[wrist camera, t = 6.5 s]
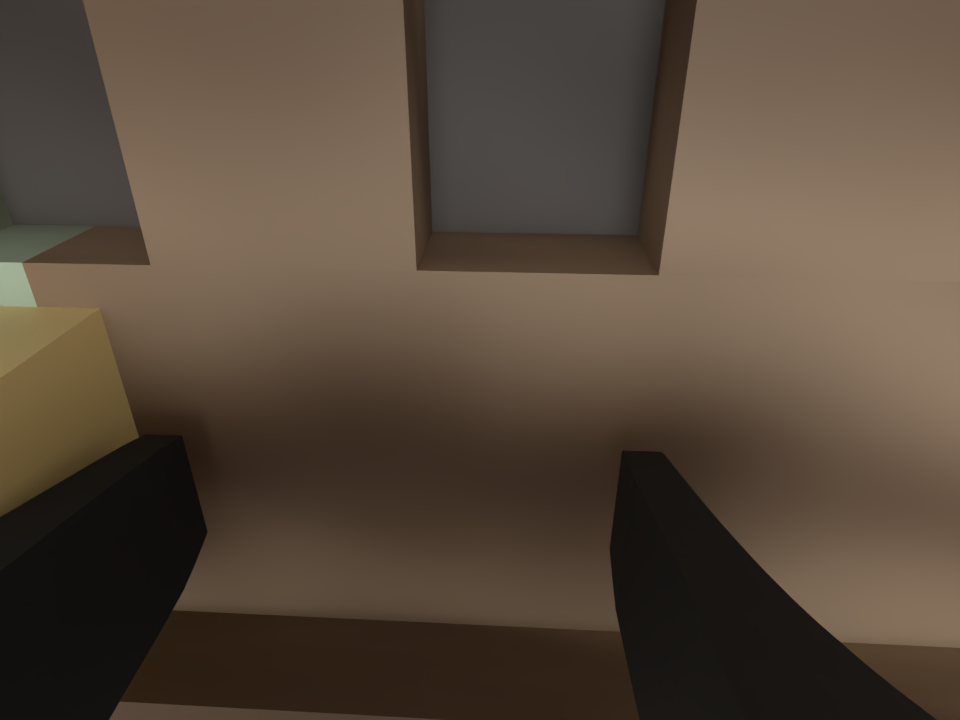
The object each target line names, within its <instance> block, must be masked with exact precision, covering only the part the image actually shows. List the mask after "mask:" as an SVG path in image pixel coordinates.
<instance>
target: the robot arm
mask: <svg viewBox="0 0 960 720" xmlns="http://www.w3.org/2000/svg"><path fill="white" fill-rule="evenodd" d="M207 533H208V531H207V527H206V524H205V520H204V516H203V512H202V509H201V505H200V501H199V497H198V493H197V490H196V486H195V482H194V478H193V475H192V471H191V467H190V463H189V460H188V456H187V452H186V448H185V445H184V441H183V437H182V436H181V435H151V434H145V435H143V436H141V437H139V438H137V439H135V440H133V441H131V442H129V443H127V444H125V445H123V446H121V447H120V448H118V449H116V450H114V451H112V452H111V453H109V454H107V455H105V456H104V457H102V458H100V459H98V460H97V461H95V462H93V463H92V464H90V465H88V466H86V467H85V468H83V469H81V470H80V471H78V472H76V473H75V474H73V475H71V476H70V477H68V478H66V479H64V480H63V481H61V482H59V483H58V484H56V485H54V486H52V487H51V488H49V489H47V490H46V491H44V492H42V493H40V494H39V495H37V496H35V497H34V498H32V499H30V500H29V501H27V502H25V503H23V504H22V505H20V506H18V507H17V508H15V509H13V510H11V511H10V512H8V513H6V514H4V515H2V516H1V517H0V720H109V719H110V717H111V716H112V714H113V712H114V710H115V709H116V707H117V705H118V704H119V702H120V700H121V698H122V697H123V695H124V693H125V692H126V690H127V688H128V686H129V685H130V683H131V681H132V680H133V678H134V676H135V674H136V673H137V671H138V669H139V668H140V666H141V664H142V662H143V661H144V659H145V657H146V656H147V654H148V652H149V650H150V649H151V647H152V645H153V644H154V642H155V640H156V638H157V637H158V635H159V633H160V631H161V630H162V628H163V626H164V624H165V623H166V621H167V619H168V617H169V616H170V614H171V612H172V610H173V609H174V607H175V605H176V603H177V601H178V600H179V598H180V596H181V594H182V592H183V591H184V589H185V586H186V584H187V582H188V579H189V577H190V575H191V572H192V570H193V568H194V566H195V563H196V561H197V558H198V556H199V553H200V550H201V548H202V545H203V543H204V540H205V538H206V535H207ZM610 559H611V570H612V581H613V590H614V600H615V609H616V614H617V619H618V623H619V628H620V633H621V637H622V642H623V647H624V651H625V656H626V661H627V665H628V670H629V674H630V679H631V683H632V688H633V692H634V697H635V701H636V706H637V710H638V715H639V719H640V720H937V719H935V718H934V717H933V716H931V715H930V714H929V713H927V712H926V711H925V710H923V709H922V708H921V707H920V706H918V705H917V704H916V703H914V702H913V701H912V700H910V699H909V698H908V697H906V696H905V695H904V694H903V693H901V692H900V691H899V690H897V689H896V688H895V687H893V686H892V685H891V684H890V683H889V682H887V681H886V680H885V679H884V678H882V677H881V676H880V675H879V674H877V673H876V672H875V671H874V670H873V669H871V668H870V667H869V666H868V665H866V664H865V663H864V662H863V661H862V660H860V659H859V658H858V657H857V656H856V655H855V654H854V653H852V652H851V651H850V650H849V649H848V648H847V647H846V646H844V645H843V644H842V643H841V642H840V641H839V640H837V639H836V638H835V637H834V636H833V635H832V634H831V633H829V632H828V631H827V630H826V629H825V628H824V627H823V626H821V625H820V624H819V623H818V622H817V621H816V620H815V619H814V618H813V617H811V616H810V615H809V614H808V613H807V612H806V611H805V610H804V609H803V608H802V607H801V606H800V605H799V604H798V603H796V602H795V601H794V600H793V599H792V598H791V597H790V596H789V595H788V594H787V593H786V592H785V591H784V590H783V589H782V588H781V587H780V586H779V585H778V584H777V583H776V582H775V581H774V580H773V579H772V578H771V577H770V576H769V575H768V574H767V573H766V571H765V570H764V569H763V568H762V567H761V566H760V565H759V564H758V563H757V562H756V561H755V560H754V559H753V558H752V557H751V556H750V554H749V553H748V552H747V551H746V550H745V549H744V548H743V547H742V546H741V544H740V543H739V542H738V541H737V540H736V539H735V538H734V537H733V536H732V534H731V533H730V532H729V531H728V530H727V529H726V528H725V527H724V526H723V524H722V523H721V522H720V521H719V520H718V519H717V517H716V516H715V515H714V514H713V513H712V512H711V510H710V509H709V508H708V507H707V506H706V504H705V503H704V502H703V501H702V500H701V498H700V497H699V496H698V495H697V494H696V492H695V491H694V490H693V489H692V488H691V486H690V485H689V484H688V483H687V481H686V480H685V479H684V478H683V476H682V475H681V474H680V473H679V471H678V470H677V469H676V468H675V466H674V465H673V464H672V463H671V462H670V460H669V459H668V458H667V457H666V456H665V455H664V454H663V452H654V451H624V450H622V455H621V463H620V470H619V478H618V486H617V494H616V502H615V509H614V517H613V525H612V533H611V541H610Z"/></svg>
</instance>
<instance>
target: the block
mask: <svg viewBox="0 0 960 720" xmlns="http://www.w3.org/2000/svg"><path fill="white" fill-rule="evenodd" d="M137 438H139V436H138V432H137V429H136V426H135V423H134V419H133V416H132V413H131V410H130V406H129V403H128V400H127V396H126V393H125V390H124V387H123V383H122V380H121V377H120V373H119V370H118V367H117V364H116V360H115V357H114V354H113V351H112V347H111V344H110V341H109V337H108V334H107V331H106V328H105V324H104V321H103V318H102V314H101V311H100V308H62V307H20V306H0V517H1V516H2V515H4V514H6V513H8V512H10V511H11V510H13V509H15V508H17V507H18V506H20V505H22V504H23V503H25V502H27V501H29V500H30V499H32V498H34V497H35V496H37V495H39V494H40V493H42V492H44V491H46V490H47V489H49V488H51V487H52V486H54V485H56V484H58V483H59V482H61V481H63V480H64V479H66V478H68V477H70V476H71V475H73V474H75V473H76V472H78V471H80V470H81V469H83V468H85V467H86V466H88V465H90V464H92V463H93V462H95V461H97V460H98V459H100V458H102V457H104V456H105V455H107V454H109V453H111V452H112V451H114V450H116V449H118V448H120V447H121V446H123V445H125V444H127V443H129V442H131V441H133V440H135V439H137Z"/></svg>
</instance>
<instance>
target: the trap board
mask: <svg viewBox="0 0 960 720" xmlns="http://www.w3.org/2000/svg"><path fill="white" fill-rule="evenodd" d="M0 306H20V307H62V308H100V311H101V314H102V318H103V321H104V324H105V328H106V331H107V334H108V337H109V341H110V344H111V347H112V351H113V354H114V357H115V360H116V364H117V367H118V370H119V373H120V377H121V380H122V383H123V387H124V390H125V393H126V396H127V400H128V403H129V406H130V410H131V413H132V416H133V419H134V423H135V426H136V429H137V432H138V436H139V437H141V436H143V435H145V434H151V435H181V436H182V437H183V441H184V445H185V448H186V452H187V456H188V460H189V463H190V467H191V471H192V475H193V478H194V482H195V486H196V490H197V493H198V497H199V501H200V505H201V509H202V512H203V516H204V520H205V524H206V527H207V531H208V533H207V535H206V538H205V540H204V543H203V545H202V548H201V550H200V553H199V556H198V558H197V561H196V563H195V566H194V568H193V570H192V572H191V575H190V577H189V579H188V582H187V584H186V586H185V589H184V591H183V592H182V594H181V596H180V598H179V600H178V601H177V603H176V605H175V607H174V609H173V610H172V612H171V614H170V616H169V617H168V619H167V621H166V623H165V624H164V626H163V628H162V630H161V631H160V633H159V635H158V637H157V638H156V640H155V642H154V644H153V645H152V647H151V649H150V650H149V652H148V654H147V656H146V657H145V659H144V661H143V662H142V664H141V666H140V668H139V669H138V671H137V673H136V674H135V676H134V678H133V680H132V681H131V683H130V685H129V686H128V688H127V690H126V692H125V693H124V695H123V697H122V698H121V700H120V702H119V704H118V705H117V707H116V709H115V710H114V712H113V714H112V716H111V717H110V719H109V720H640V719H639V715H638V710H637V706H636V701H635V697H634V692H633V688H632V683H631V679H630V674H629V670H628V665H627V661H626V656H625V651H624V647H623V642H622V637H621V633H620V628H619V623H618V619H617V614H616V609H615V600H614V590H613V581H612V570H611V559H610V541H611V533H612V525H613V517H614V509H615V502H616V494H617V486H618V478H619V470H620V463H621V455H622V450H624V451H654V452H663V454H664V455H665V456H666V457H667V458H668V459H669V460H670V462H671V463H672V464H673V465H674V466H675V468H676V469H677V470H678V471H679V473H680V474H681V475H682V476H683V478H684V479H685V480H686V481H687V483H688V484H689V485H690V486H691V488H692V489H693V490H694V491H695V492H696V494H697V495H698V496H699V497H700V498H701V500H702V501H703V502H704V503H705V504H706V506H707V507H708V508H709V509H710V510H711V512H712V513H713V514H714V515H715V516H716V517H717V519H718V520H719V521H720V522H721V523H722V524H723V526H724V527H725V528H726V529H727V530H728V531H729V532H730V533H731V534H732V536H733V537H734V538H735V539H736V540H737V541H738V542H739V543H740V544H741V546H742V547H743V548H744V549H745V550H746V551H747V552H748V553H749V554H750V556H751V557H752V558H753V559H754V560H755V561H756V562H757V563H758V564H759V565H760V566H761V567H762V568H763V569H764V570H765V571H766V573H767V574H768V575H769V576H770V577H771V578H772V579H773V580H774V581H775V582H776V583H777V584H778V585H779V586H780V587H781V588H782V589H783V590H784V591H785V592H786V593H787V594H788V595H789V596H790V597H791V598H792V599H793V600H794V601H795V602H796V603H798V604H799V605H800V606H801V607H802V608H803V609H804V610H805V611H806V612H807V613H808V614H809V615H810V616H811V617H813V618H814V619H815V620H816V621H817V622H818V623H819V624H820V625H821V626H823V627H824V628H825V629H826V630H827V631H828V632H829V633H831V634H832V635H833V636H834V637H835V638H836V639H837V640H839V641H840V642H841V643H842V644H843V645H844V646H846V647H847V648H848V649H849V650H850V651H851V652H852V653H854V654H855V655H856V656H857V657H858V658H859V659H860V660H862V661H863V662H864V663H865V664H866V665H868V666H869V667H870V668H871V669H873V670H874V671H875V672H876V673H877V674H879V675H880V676H881V677H882V678H884V679H885V680H886V681H887V682H889V683H890V684H891V685H892V686H893V687H895V688H896V689H897V690H899V691H900V692H901V693H903V694H904V695H905V696H906V697H908V698H909V699H910V700H912V701H913V702H914V703H916V704H917V705H918V706H920V707H921V708H922V709H923V710H925V711H926V712H927V713H929V714H930V715H931V716H933V717H934V718H935V719H937V720H960V0H0Z"/></svg>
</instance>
